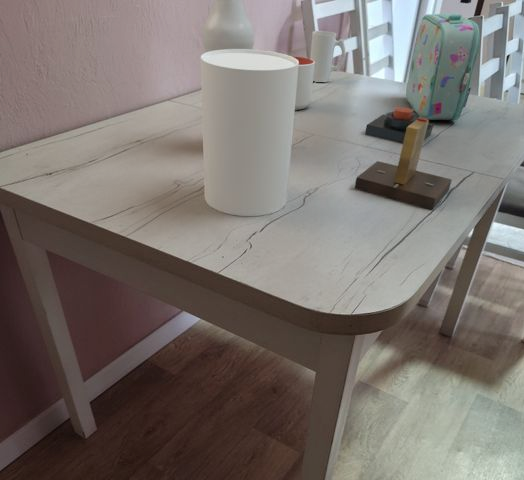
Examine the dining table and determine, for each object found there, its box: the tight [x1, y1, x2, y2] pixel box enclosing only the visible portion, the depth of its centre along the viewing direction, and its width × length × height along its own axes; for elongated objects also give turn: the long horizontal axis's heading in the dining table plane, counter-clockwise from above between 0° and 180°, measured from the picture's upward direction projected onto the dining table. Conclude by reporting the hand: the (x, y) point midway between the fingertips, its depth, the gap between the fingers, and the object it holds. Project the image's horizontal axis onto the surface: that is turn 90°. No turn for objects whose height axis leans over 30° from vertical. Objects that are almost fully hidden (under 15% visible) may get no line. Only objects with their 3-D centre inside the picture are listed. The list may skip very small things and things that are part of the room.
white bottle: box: [202, 0, 255, 53], centre depth 89 cm, size 9×9×28 cm
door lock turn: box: [394, 116, 430, 185], centre depth 82 cm, size 6×2×9 cm, turn 149°
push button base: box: [364, 111, 434, 145], centre depth 108 cm, size 12×10×4 cm
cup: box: [290, 55, 315, 111], centre depth 120 cm, size 10×10×10 cm
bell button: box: [393, 106, 414, 120], centre depth 106 cm, size 4×4×2 cm
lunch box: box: [405, 12, 481, 122], centre depth 118 cm, size 27×10×21 cm, turn 179°
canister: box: [200, 48, 299, 217], centre depth 74 cm, size 14×14×20 cm
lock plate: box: [354, 160, 453, 211], centre depth 85 cm, size 14×10×2 cm
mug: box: [309, 30, 346, 83], centre depth 140 cm, size 10×7×12 cm, turn 77°
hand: (465, 2), depth 97 cm, fingers closed
